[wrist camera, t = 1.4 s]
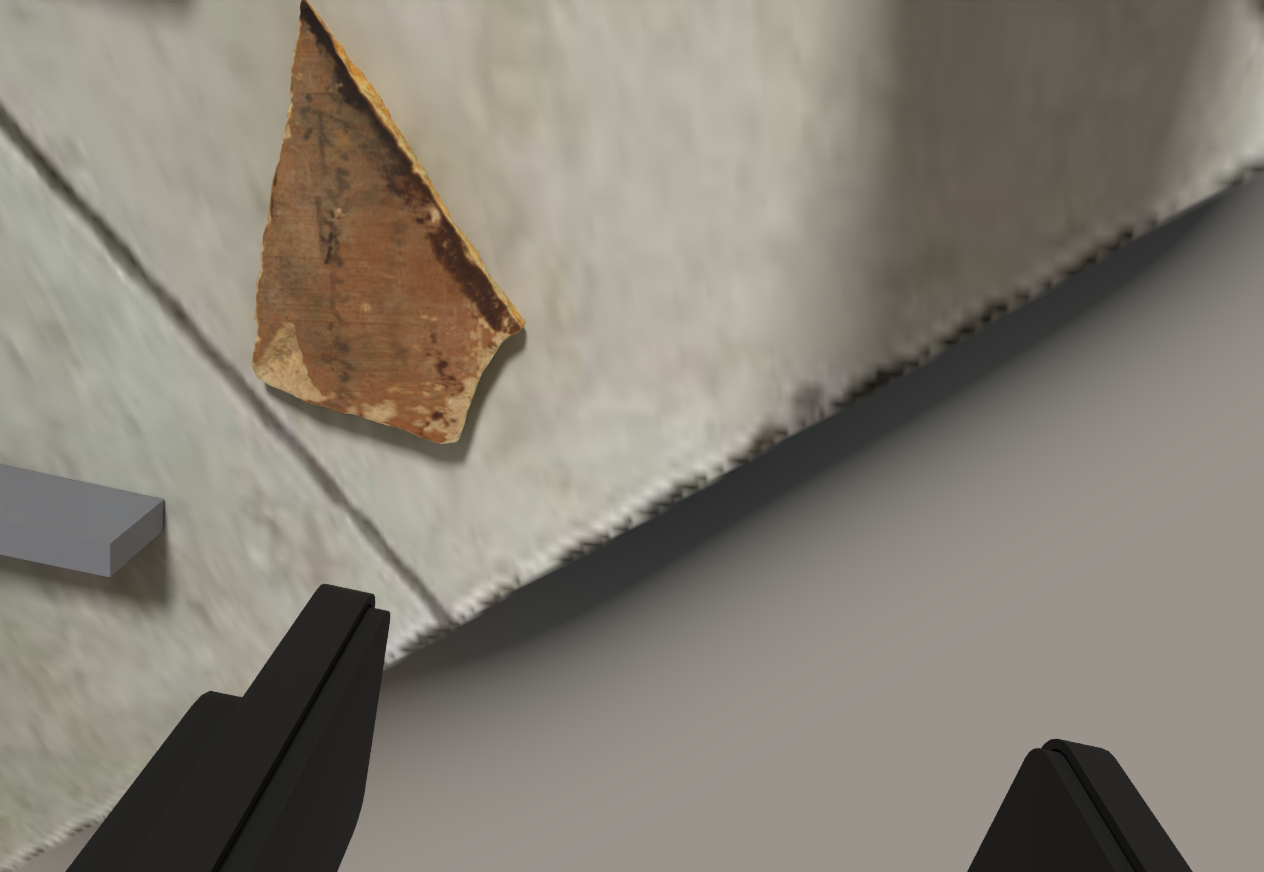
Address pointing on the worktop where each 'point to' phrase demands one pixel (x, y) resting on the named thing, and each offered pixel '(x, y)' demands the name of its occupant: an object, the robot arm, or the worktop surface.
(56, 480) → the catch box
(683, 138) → the worktop surface
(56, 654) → the worktop surface
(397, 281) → the shard
